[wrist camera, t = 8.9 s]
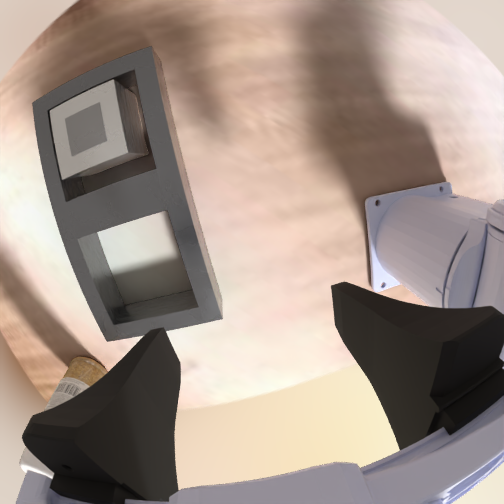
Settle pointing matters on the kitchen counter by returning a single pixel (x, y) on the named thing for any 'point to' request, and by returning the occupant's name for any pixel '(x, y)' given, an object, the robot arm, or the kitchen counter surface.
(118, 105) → the gray block
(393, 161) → the kitchen counter surface
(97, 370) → the sprinkles bottle
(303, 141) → the kitchen counter surface
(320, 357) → the kitchen counter surface
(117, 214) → the grey rectangular tray
